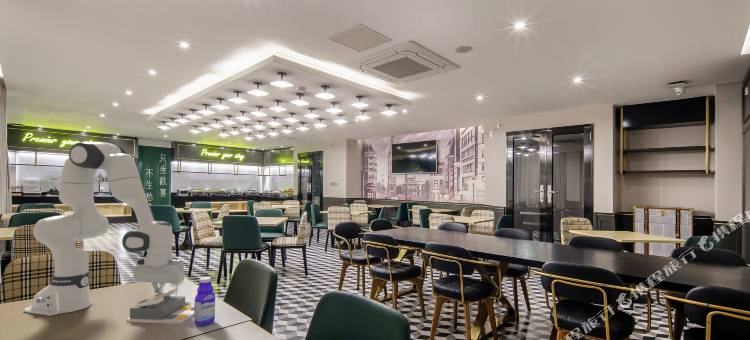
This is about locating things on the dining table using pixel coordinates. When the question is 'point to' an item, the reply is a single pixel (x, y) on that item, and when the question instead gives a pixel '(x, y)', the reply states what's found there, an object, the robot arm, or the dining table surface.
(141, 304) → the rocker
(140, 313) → the switch unit
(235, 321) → the dining table surface
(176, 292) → the wineglass
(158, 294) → the rocker
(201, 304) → the bottle
